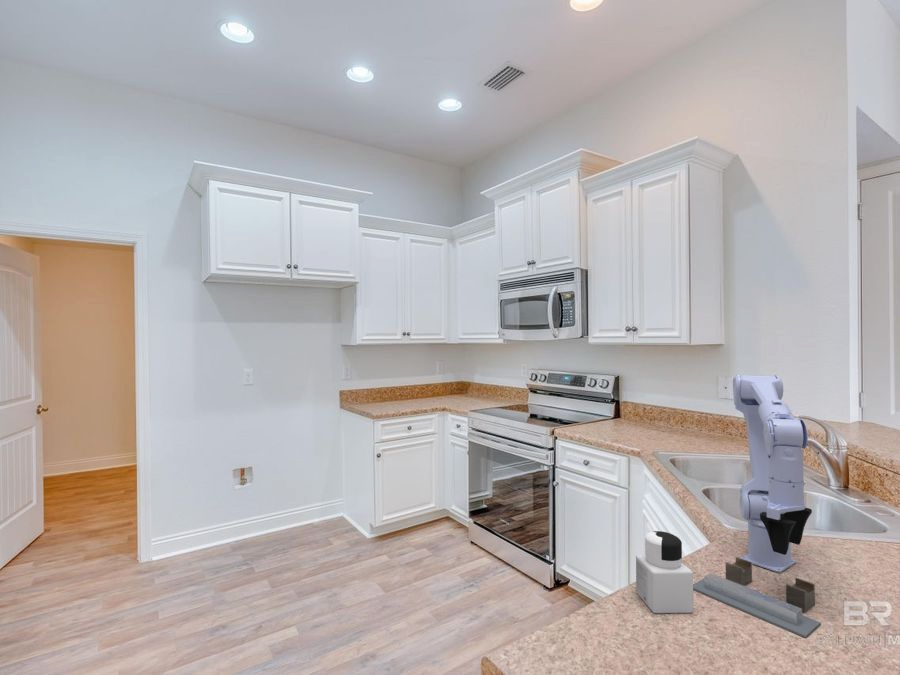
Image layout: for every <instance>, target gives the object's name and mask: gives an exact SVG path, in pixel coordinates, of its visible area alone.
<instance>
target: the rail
mask: <svg viewBox="0 0 900 675" xmlns="http://www.w3.org/2000/svg"><path fill="white" fill-rule="evenodd" d="M703 579H704V584H705V588H708V589H710V590H712V591H715V592H717V593H720V594H722V595H724V596H727V597H729V598H732V599H734V600H736V601H739V602H741V603H744V604H746V605H748V606H751V607H753V608H756V609H758V610H760V611H763V612H765V613H767V614H770V615H772V616H775V617H777V618H779V619H782V620H784V621H787V622H789V623H791V624H794V625H796V626H797V625H798V624H799V623H801V622H802V615H803V612H802V609H801V608H799V607H796V606H794V605H791V604H789V603H786V601H784V600H780V599H778V598H776V597H773V596H770V595H768V594H765V593H763V592H761V591H758V590H755V589H752V588H750V587H747V586H746V585H745V586H742V585H740V584H737V583H735V582H732V581H730V580H727V579H726V578H724V577H721V576H719V575H716V574H714V573H711V572H710V573H708V574H706V575H705V576H703Z"/></svg>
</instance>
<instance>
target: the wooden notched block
mask: <svg viewBox="0 0 900 675" xmlns="http://www.w3.org/2000/svg"><path fill="white" fill-rule="evenodd" d="M725 579H727V580H730V581H732V582H735V583H737V584H740V585H742V586H745V587H746V586H747V585H748V584H750V583H751V582H753V564H752V562H750V561H747V560H744V559H741V557H738V556H736V557H735V562H733V563H730V562H725Z"/></svg>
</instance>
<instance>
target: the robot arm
mask: <svg viewBox="0 0 900 675" xmlns="http://www.w3.org/2000/svg"><path fill="white" fill-rule="evenodd" d="M732 392H733V393H732V394H733V403H734V406H735V410H737V411H739V412H741V413H742V414H743V418H744V421H745V424H746V432H747V433H746V434H747V435H746V436H747V444H748V452H749V454H748V455H749V462H750V472H751V479H750V480H748V481H746V482H745V483H743V484H742V485H741V486H740V488H739V510H740V514H741V515H740V516H741V517H742V518H743V519H744V521H747V547H748V548H747V549H748V550H747V554H745V555H743V556H741V557H740V558H741V559H744V560H747V561H750V562H752V565H755V566H758V567H761V568H764V569H766V570H770V571H773V572H775V573H778V574H779V573H782V572H783V571H785V570H786V569H789V567H790V568H791V566H793V565H794V564H795V563H796V562H797V560H796V559H793V558H792V544H794V545H798V546H799V545H800V544H801V542H802V538H803V534H804V530H805V527H806V524H807V521H808V519H809V517H810V516H811V515H812V513H813V509H811V508H809V507H806V503H805V493H804V492H805V490H804V487H805V486H804V479H805V478H804V477H805V476H804V450H805V449H807V446H808V441H809V436H808V435H809V434H808V433H809V432H808V426H807V424H806V422H805V420H804V419H803V418H798V417H796V418H795V415H794V413H793V412H792V410H791V409H790V407H789V405H788V404H787V403H786V402H784V401H783V400H782V398H783V396H784V383H783V380H782V378H781V377H780V376H779V375H778V374H777V375H776V374H774V375H751V374H750V375H749V374H746V375H745V374H743V375H742V374H735V375H734V376H733V379H732Z"/></svg>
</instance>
